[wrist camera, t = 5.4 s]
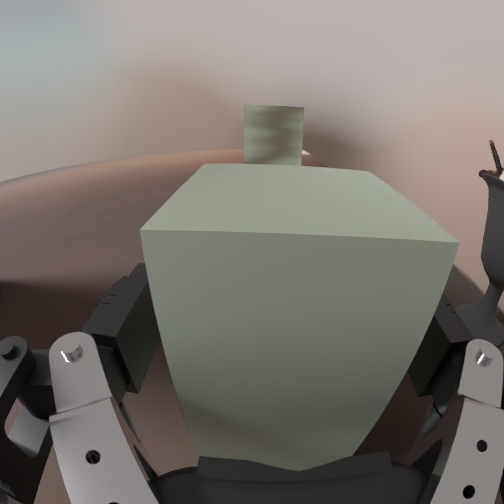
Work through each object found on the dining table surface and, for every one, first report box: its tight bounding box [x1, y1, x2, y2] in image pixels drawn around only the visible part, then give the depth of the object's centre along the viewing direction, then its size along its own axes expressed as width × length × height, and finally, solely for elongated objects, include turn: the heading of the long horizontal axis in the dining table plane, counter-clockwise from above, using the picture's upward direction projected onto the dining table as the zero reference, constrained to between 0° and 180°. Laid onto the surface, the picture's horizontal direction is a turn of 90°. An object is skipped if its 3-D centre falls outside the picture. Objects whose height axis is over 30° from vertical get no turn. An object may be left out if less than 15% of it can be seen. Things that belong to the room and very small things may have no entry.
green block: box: [140, 164, 459, 471], centre depth 9 cm, size 5×5×10 cm
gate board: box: [244, 105, 304, 166], centre depth 22 cm, size 12×20×12 cm, turn 177°
